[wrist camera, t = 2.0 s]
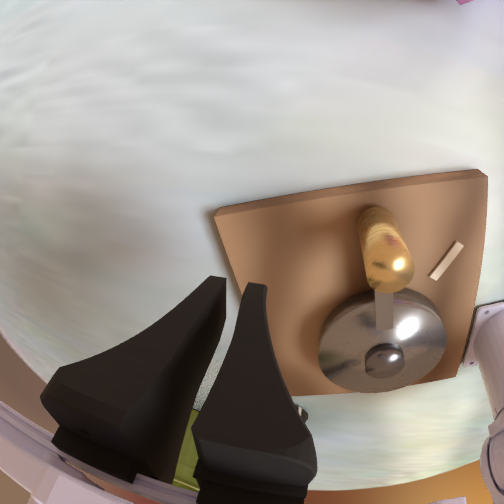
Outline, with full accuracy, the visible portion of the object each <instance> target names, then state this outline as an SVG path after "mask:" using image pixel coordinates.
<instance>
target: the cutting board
mask: <svg viewBox="0 0 504 504" xmlns="http://www.w3.org/2000/svg"><path fill="white" fill-rule="evenodd" d="M487 197H488V176H486V175H485V174H484V173H482V172H481V171H480V170H479V169H476V170H465V171H456V172H446V173H437V174H428V175H420V176H412V177H404V178H396V179H388V180H381V181H374V182H367V183H360V184H353V185H346V186H340V187H333V188H327V189H321V190H315V191H308V192H302V193H297V194H291V195H285V196H279V197H274V198H268V199H263V200H257V201H252V202H246V203H241V204H236V205H231V206H226V207H221V208H219V210H218V211H217V213H216V214H215V216H214V219H215V222H216V225H217V228H218V231H219V233H220V236H221V239H222V242H223V245H224V247H225V250H226V253H227V256H228V258H229V261H230V264H231V267H232V269H233V272H234V275H235V278H236V280H237V283H238V286H239V289H240V291H241V294H242V295H243V292H244V290H245V288H246V286H247V284H248V282H252V283H258V284H265V285H266V286H267V287H268V289H267V298H266V312H267V320H268V326H269V332H270V337H271V341H272V345H273V349H274V353H275V357H276V360H277V363H278V366H279V369H280V372H281V374H282V377H283V380H284V382H285V384H286V387H287V389H288V391H289V394H290V396H306V395H325V394H339V393H351V392H355V391H351V390H347V389H344V388H342V387H340V386H338V385H336V384H334V383H333V382H331V381H330V380H329V379H328V378H327V377H326V376H325V375H324V374H323V372H322V371H321V369H320V366H319V361H318V353H319V337H320V331H321V327H322V325H323V323H324V321H325V319H326V318H327V317H328V315H329V314H330V313H331V312H332V311H333V310H334V309H335V308H336V307H337V306H338V305H340V304H341V303H343V302H344V301H346V300H347V299H349V298H351V297H353V296H355V295H357V294H360V293H362V292H366V291H369V290H373V288H372V287H371V286H370V285H369V283H368V281H367V277H366V271H365V265H364V260H363V254H362V249H361V244H360V239H359V234H358V229H357V222H358V218H359V216H360V215H361V214H362V213H363V212H364V211H365V210H366V209H368V208H370V207H374V206H380V207H384V208H386V209H388V210H389V211H390V212H391V213H392V214H393V216H394V218H395V220H396V222H397V225H398V227H399V229H400V232H401V234H402V236H403V239H404V241H405V243H406V246H407V248H408V251H409V253H410V256H411V258H412V261H413V263H414V267H415V272H414V276H413V278H412V280H411V282H410V283H409V284H408V285H407V286H406V287H405V288H406V289H410V290H414V291H416V292H419V293H421V294H423V295H424V296H426V297H428V298H429V299H430V300H431V301H432V302H433V303H434V305H435V306H436V307H437V309H438V311H439V314H440V317H441V320H442V323H443V326H444V329H445V332H446V337H447V343H446V348H445V352H444V354H443V356H442V358H441V359H440V361H439V362H438V364H437V365H436V366H435V367H434V368H433V369H432V370H431V371H430V372H429V373H428V374H427V375H425V376H424V377H422V378H421V379H419V380H418V381H416V382H414V383H412V384H410V385H415V384H421V383H426V382H432V381H437V380H443V379H448V378H452V377H456V374H457V371H458V368H459V365H460V361H461V358H462V354H463V351H464V347H465V344H466V340H467V336H468V332H469V328H470V324H471V319H472V315H473V310H474V305H475V301H476V295H477V290H478V284H479V278H480V272H481V265H482V258H483V250H484V240H485V230H486V217H487ZM407 386H408V385H407Z"/></svg>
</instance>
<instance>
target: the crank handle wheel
mask: <svg viewBox="0 0 504 504" xmlns="http://www.w3.org/2000/svg"><path fill="white" fill-rule="evenodd" d="M357 229H358V234H359V239H360V244H361V249H362V254H363V260H364V265H365V271H366V277H367V281H368V283H369V285H370V286H371V287H372V288H373V290H369V291H366V292H362V293H360V294H357V295H355V296H353V297H351V298H349V299H347V300H346V301H344V302H343V303H341V304H340V305H338V306H337V307H336V308H335V309H334V310H333V311H332V312H331V313H330V314H329V315H328V317H327V318H326V319H325V321H324V323H323V325H322V327H321V331H320V337H319V353H318V361H319V366H320V369H321V371H322V372H323V374H324V375H325V376H326V377H327V378H328V379H329V380H330V381H331V382H333V383H334V384H336V385H338V386H340V387H342V388H344V389H347V390H351V391H355V392H362V393H379V392H387V391H392V390H396V389H399V388H402V387H405V386H407V385H410V384H412V383H414V382H416V381H418V380H419V379H421V378H422V377H424V376H425V375H427V374H428V373H429V372H430V371H431V370H432V369H433V368H434V367H435V366H436V365H437V364H438V362H439V361H440V359H441V358H442V356H443V354H444V352H445V348H446V343H447V337H446V332H445V329H444V326H443V323H442V320H441V317H440V314H439V311H438V309H437V307H436V306H435V305H434V303H433V302H432V301H431V300H430V299H429V298H428V297H426V296H424V295H423V294H421V293H419V292H416V291H414V290H410V289H406V288H405V287H406V286H407V285H408V284H409V283H410V282H411V280H412V278H413V276H414V272H415V267H414V263H413V261H412V258H411V256H410V253H409V251H408V248H407V246H406V243H405V241H404V239H403V236H402V234H401V232H400V229H399V227H398V225H397V222H396V220H395V218H394V216H393V214H392V213H391V212H390V211H389V210H388V209H386V208H384V207H380V206H374V207H370V208H368V209H366V210H365V211H364V212H363V213H362V214H361V215H360V216H359V218H358V222H357Z"/></svg>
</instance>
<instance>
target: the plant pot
mask: <svg viewBox="0 0 504 504" xmlns="http://www.w3.org/2000/svg"><path fill="white" fill-rule="evenodd" d="M198 414H199V412H198V411H196V410H194V409H192V412H191V415H190V418H189V422H188V425H187V429H186V432H185V436H184V440H183V444H182V447H181V451H180V455H179V459H178V463H177V468H176V472H175V476H174V481H173V484H171V485H174V486H177V487H180V488H184V489H187V490H191V491H195V492H198V493H199V490H200V488H199V485H198V483H197V480H196V479H195V478H193V473H194V470H195V467H196V464H197V461H198V454H197V450H196V446H195V443H194V439H193V435H192V431H191V426H192V425H193V423H194V421H195V419H196V417H197V416H198Z"/></svg>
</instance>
